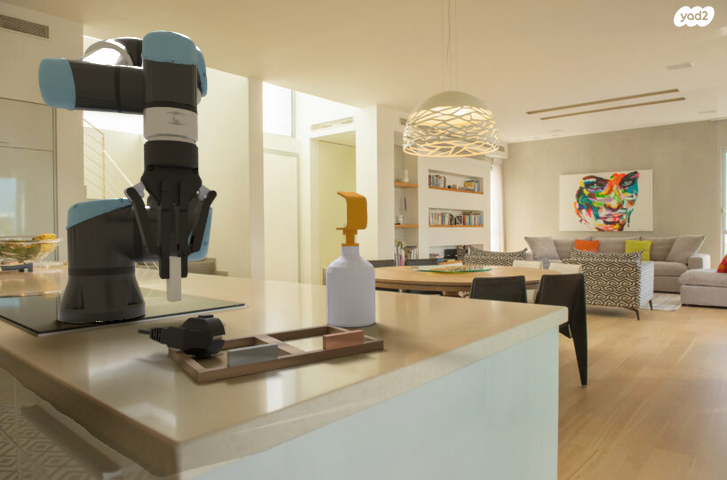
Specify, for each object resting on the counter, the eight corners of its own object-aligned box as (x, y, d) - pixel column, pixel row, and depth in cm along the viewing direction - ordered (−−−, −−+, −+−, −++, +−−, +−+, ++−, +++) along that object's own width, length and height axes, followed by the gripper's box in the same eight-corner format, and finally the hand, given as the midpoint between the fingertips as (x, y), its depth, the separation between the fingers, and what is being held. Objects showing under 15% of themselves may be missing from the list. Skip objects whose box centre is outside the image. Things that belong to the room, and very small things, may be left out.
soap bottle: (359, 317, 93) (358, 193, 93) (384, 324, 85) (383, 189, 85) (318, 322, 88) (317, 192, 88) (341, 330, 80) (339, 187, 80)
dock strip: (168, 355, 64) (167, 334, 64) (329, 331, 79) (329, 313, 79) (199, 383, 52) (199, 356, 52) (383, 348, 67) (383, 327, 67)
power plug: (136, 310, 64) (199, 319, 59) (180, 307, 71) (240, 314, 66) (133, 352, 64) (196, 364, 59) (177, 345, 71) (238, 355, 65)
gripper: (126, 133, 62) (130, 308, 63) (223, 143, 70) (225, 299, 71) (118, 141, 69) (121, 301, 69) (208, 149, 76) (210, 293, 77)
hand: (174, 300), depth 70 cm, fingers closed
